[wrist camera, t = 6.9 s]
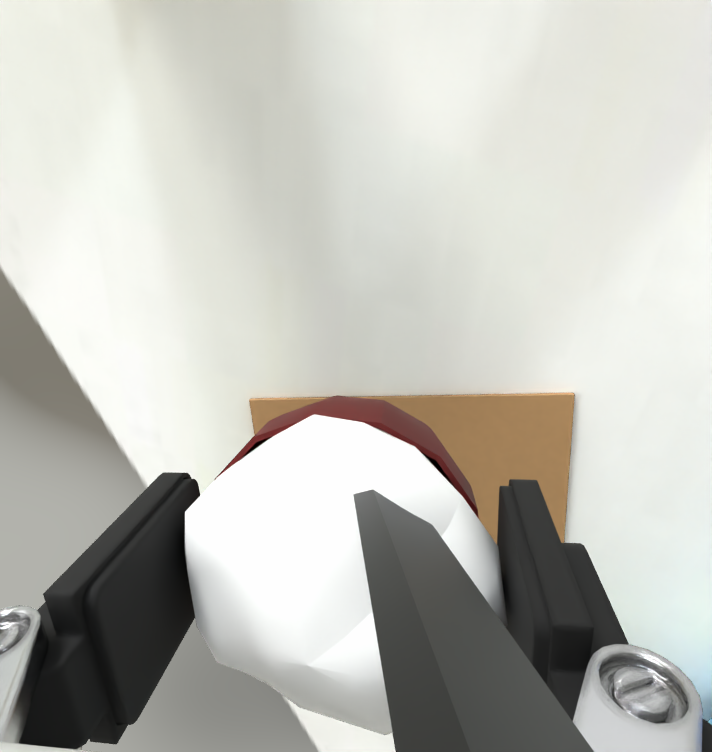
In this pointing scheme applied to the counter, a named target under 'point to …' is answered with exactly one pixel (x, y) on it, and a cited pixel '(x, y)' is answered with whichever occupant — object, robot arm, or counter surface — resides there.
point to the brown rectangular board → (485, 441)
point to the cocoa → (366, 584)
